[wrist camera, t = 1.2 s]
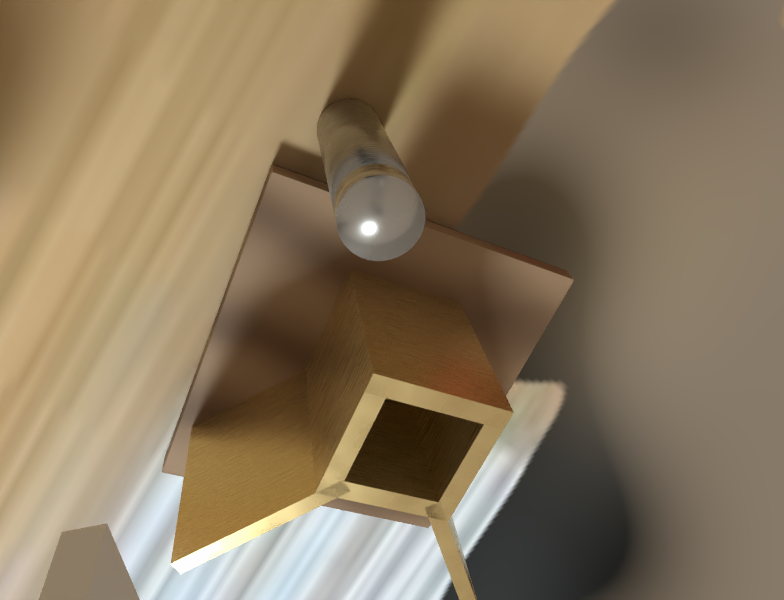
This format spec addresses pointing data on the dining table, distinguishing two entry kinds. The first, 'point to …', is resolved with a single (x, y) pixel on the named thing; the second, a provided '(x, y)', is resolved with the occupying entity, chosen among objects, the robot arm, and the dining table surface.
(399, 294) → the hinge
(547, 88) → the dining table surface
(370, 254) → the pin
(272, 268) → the board
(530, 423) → the dining table surface
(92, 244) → the dining table surface
